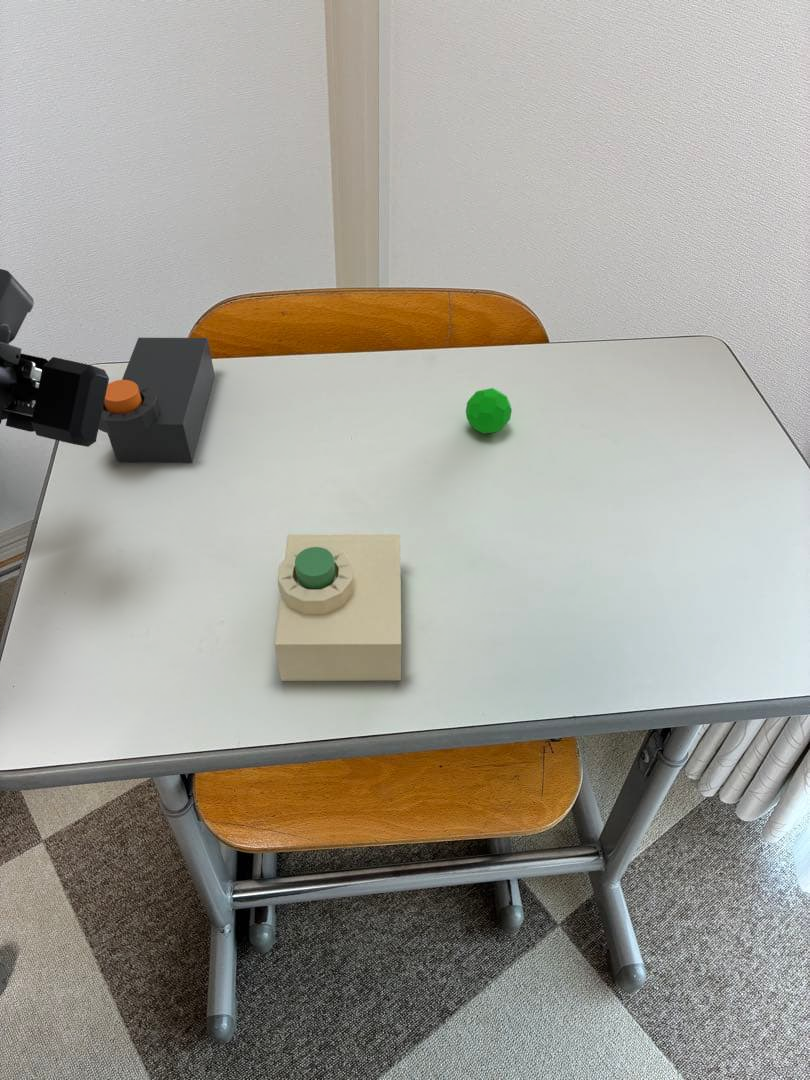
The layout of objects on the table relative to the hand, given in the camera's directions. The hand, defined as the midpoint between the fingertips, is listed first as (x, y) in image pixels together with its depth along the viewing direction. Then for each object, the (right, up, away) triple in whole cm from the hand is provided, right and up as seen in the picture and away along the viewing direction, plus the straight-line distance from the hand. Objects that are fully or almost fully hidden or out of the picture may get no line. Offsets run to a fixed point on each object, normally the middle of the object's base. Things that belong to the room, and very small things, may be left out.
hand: (59, 401), depth 71 cm
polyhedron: (+40, 0, +18) cm, 44 cm away
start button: (+2, +1, +10) cm, 10 cm away
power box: (+26, -20, -1) cm, 32 cm away
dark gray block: (+4, +1, +18) cm, 19 cm away
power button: (+24, -15, -6) cm, 29 cm away
